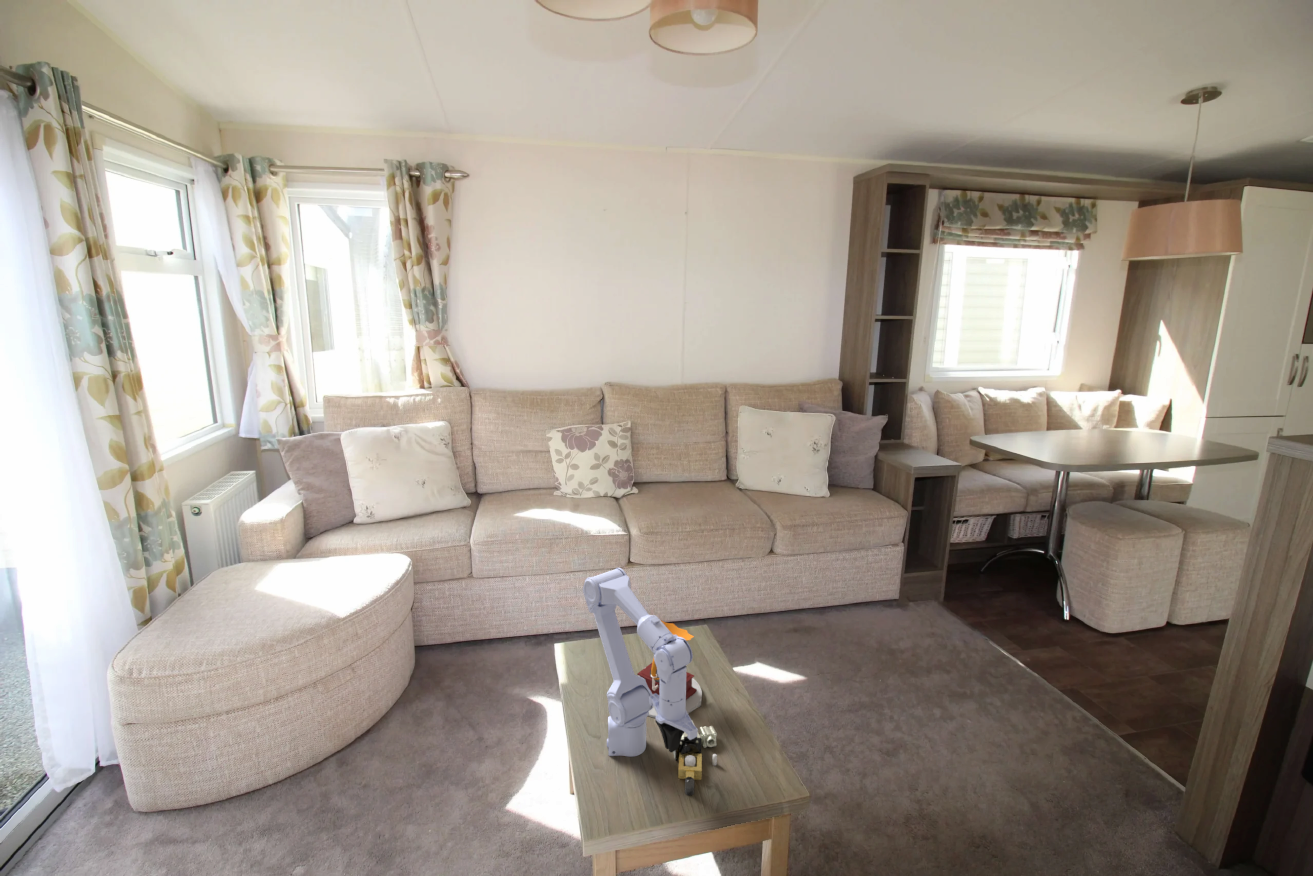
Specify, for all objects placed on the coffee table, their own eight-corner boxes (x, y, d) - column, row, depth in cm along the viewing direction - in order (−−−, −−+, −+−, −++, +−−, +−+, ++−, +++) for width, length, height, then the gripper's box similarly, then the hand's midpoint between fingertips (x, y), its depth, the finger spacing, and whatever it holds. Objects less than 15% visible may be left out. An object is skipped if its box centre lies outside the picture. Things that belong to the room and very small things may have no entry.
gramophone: (672, 734, 151) (674, 645, 145) (611, 702, 163) (610, 618, 157) (716, 693, 167) (718, 611, 161) (657, 666, 179) (657, 589, 173)
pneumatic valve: (722, 759, 141) (672, 765, 139) (707, 731, 152) (661, 736, 150) (722, 736, 141) (672, 742, 138) (708, 710, 152) (661, 715, 150)
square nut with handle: (677, 794, 131) (677, 783, 130) (679, 761, 140) (679, 750, 139) (701, 796, 130) (701, 784, 130) (701, 762, 140) (701, 751, 139)
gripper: (637, 683, 132) (637, 737, 135) (679, 719, 121) (678, 777, 124) (663, 672, 137) (662, 724, 140) (705, 706, 125) (704, 762, 128)
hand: (671, 748), depth 132 cm, fingers closed
